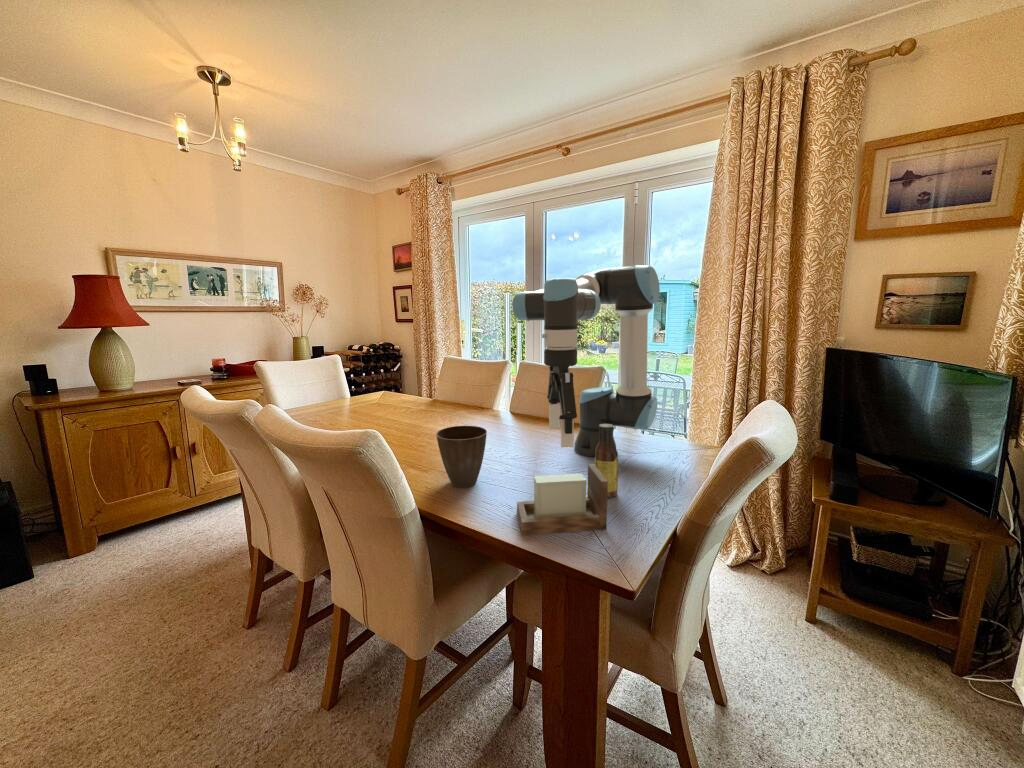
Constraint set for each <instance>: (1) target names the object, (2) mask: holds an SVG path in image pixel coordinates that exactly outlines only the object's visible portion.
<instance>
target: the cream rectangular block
mask: <svg viewBox="0 0 1024 768" xmlns="http://www.w3.org/2000/svg"><path fill="white" fill-rule="evenodd" d="M533 492H534V495H533V498H534V500H533V501H534V515H535V518H548V517H564V516H579V515H586V498H587V479H586V477H585V476H584V475H583V473H573V474H572V473H570V474H568V473H567V474H554V475H535V476H533Z"/></svg>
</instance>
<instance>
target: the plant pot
mask: <svg viewBox="0 0 1024 768" xmlns="http://www.w3.org/2000/svg"><path fill="white" fill-rule="evenodd" d="M487 433H488V431H487V429H486V428H484V427H481V426H477V425H455V426H449V427H445V428H442V429H439V430H438V431H437V432H436V434H435V435H436V440H437V446H438V450H439V454H440V458H441V461H442V464H443V466H444V469H445V472H446V475H447V476H448V477H447V478H449V481H450V483H451V485H452V486H453V487H455V488H458V489H459V488H461V489H462V488H464V489H465V488H469V487H473V486H474V485H476V484H477V481H478V478H479V476H480V472H481V468H482V465H483V461H484V454H485V450H486V443H487Z"/></svg>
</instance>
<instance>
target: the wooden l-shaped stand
mask: <svg viewBox="0 0 1024 768" xmlns="http://www.w3.org/2000/svg"><path fill="white" fill-rule="evenodd" d="M607 490H608V481H607V480H606V479H605V477H604V476H603V475H602V474H601V472H600V471H599V470H598V469H597V468H596V466H595V463H588V464H587V487H586V515H579V516H564V517H548V518H535V515H534V500H526V501H525V500H522V501H517V502H516V513H517V517H518V519H517V520H518V522H519V526H520V530H521V531H520V532H521V534H522V536H528V535H529V536H530V535H541V534H555V533H556V534H557V533H572V532H584V531H585V532H589V531H600V530H601V531H602V530H607V525H608V524H607V523H608V520H607V518H608V498H607Z"/></svg>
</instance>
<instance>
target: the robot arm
mask: <svg viewBox="0 0 1024 768" xmlns="http://www.w3.org/2000/svg"><path fill="white" fill-rule="evenodd" d="M659 280H660V279H659V276H658V274H657V271H656V269H655V268H654V267H653V266H652V265H640V264H636V265H630V266H619V267H617V266H616V267H605V268H601V269H598V270H594V271H591V272H587V273H585V274H581V275H579V276H577V277H576V278H574V277H573V278H572V277H559V278H557V277H556V278H550V279H549V278H548V279H546V280H545V282H544V285H543V288H542V289H541V288H540V289H538V290H534V291H533V290H531V291H529V290H525V291H519V292H517V293H516V294H515V295H514V296H513V297H512V298H513V299H512V303H511V306H512V313H513V315H514V317H515V318H516V319H517V320H519V321H527V322H529V321H543V322H544V325H543V327H544V328H543V329H544V331H543V332H544V333H542V334H541V338H542V339H544V340H543V341H544V342H543V343H544V344H543V345H544V347H546V349H544V350H543V352H544V353H543V355H544V356H543V359H544V360H543V363H544V365H545V366H547V367H549V377H548V378H549V379H548V388H547V396H546V398H547V400H548V405H549V406H548V407H549V408H548V417H549V419H548V423H549V424H548V425H549V426H548V428H549V430H550V431H552V430H560V447H561V448H574V451H575V452H576V453H578V454H579V455H583V456H587V457H593V458H595V449H596V446H597V445H598V443H599V425H600V424H612V425H613V426H614V427H618V428H619V427H620V428H626V429H630V430H631V429H632V430H635V431H637V430H639V431H640V430H641V431H646V430H648V429H649V428H651V426H652V425H653V423H654V421H655V418H656V414H657V410H658V404H659V403H658V398H657V397H655V396H654V395H652V389H651V387H649V386H648V331H649V330H648V323H649V322H648V321H649V319H648V318H649V313H651V311H652V310H653V309H654V305H655V304H656V303H658V301H659V299H660V290H661V289H660V282H659ZM602 305H615V309H614V310H615V312H616V313H618V314H619V317H620V318H619V323H620V324H619V325H620V327H619V329H620V331H619V332H620V333H619V334H620V335H619V337H620V338H619V341H620V342H619V343H620V344H619V345H620V347H619V348H620V349H619V351H620V354H619V355H620V360H619V361H620V385H619V387H617V388H616V390H615V392H614V388H612V387H609V386H604V387H603V386H602V387H601V386H600V387H592V388H587V389H584V390H582V391H581V392H580V395H579V396H580V397H579V402H578V403H579V430H578V432H577V435H576V438H575V439H574V433H575V428H574V427H575V426H574V425H575V423H574V422H575V419H577V417H578V413H577V407H576V406H577V405H576V395H575V388H574V387H575V386H574V373H573V372H570V371H569V370H570V369H569V368H570V367H574V366H576V365H577V364H578V350H577V348H576V347H578V346H579V345H578V343H579V342H578V340H579V339H578V334H579V332H578V331H579V330H578V321H589V320H591V319H593V318H594V317H596V316H597V315H598V314H599V312H600V310H601V306H602ZM613 441H614V444H615V447H616V448H617V444H616V441H615V437H614V435H613Z"/></svg>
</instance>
